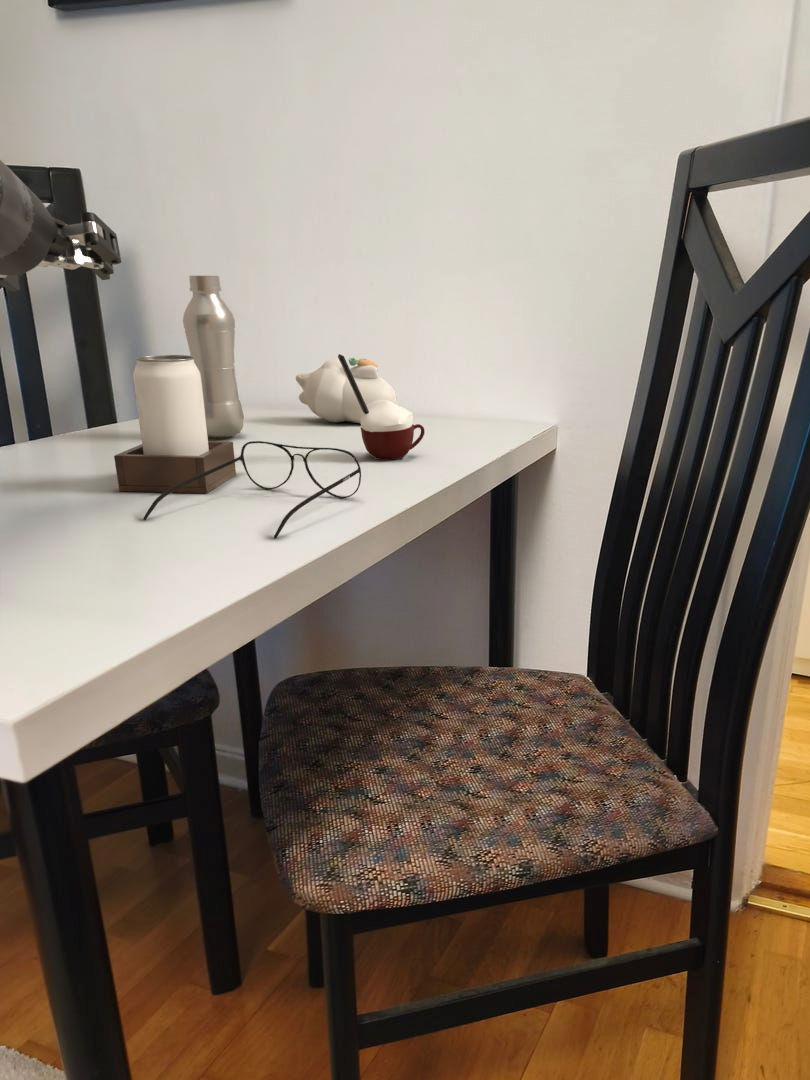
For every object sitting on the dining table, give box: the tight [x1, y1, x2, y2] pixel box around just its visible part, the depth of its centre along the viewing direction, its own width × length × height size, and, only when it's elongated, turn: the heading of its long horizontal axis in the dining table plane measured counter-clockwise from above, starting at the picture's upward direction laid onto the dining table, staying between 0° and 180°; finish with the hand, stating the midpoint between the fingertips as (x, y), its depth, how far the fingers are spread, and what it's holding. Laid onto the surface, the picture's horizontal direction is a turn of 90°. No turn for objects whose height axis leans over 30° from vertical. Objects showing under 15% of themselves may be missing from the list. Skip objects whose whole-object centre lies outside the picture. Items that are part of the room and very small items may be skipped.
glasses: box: [142, 440, 362, 539], centre depth 83 cm, size 14×15×5 cm
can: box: [132, 354, 209, 456], centre depth 91 cm, size 6×6×12 cm
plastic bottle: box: [182, 275, 245, 439], centre depth 115 cm, size 6×7×20 cm
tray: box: [113, 440, 237, 494], centre depth 93 cm, size 9×9×4 cm
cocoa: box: [337, 353, 425, 461], centre depth 105 cm, size 10×6×12 cm, turn 88°
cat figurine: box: [295, 357, 398, 424], centre depth 130 cm, size 10×8×15 cm
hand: (59, 275), depth 85 cm, fingers open, 8 cm apart
